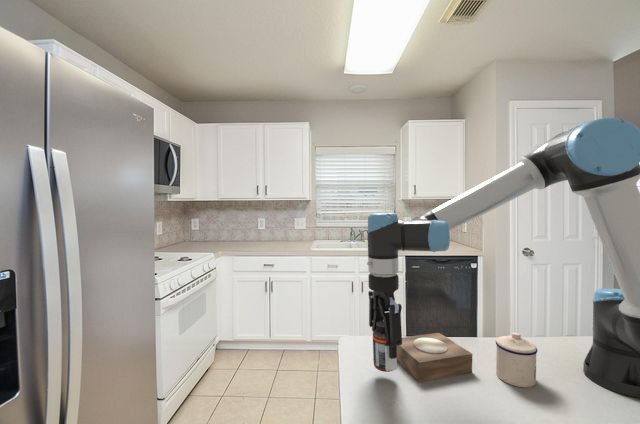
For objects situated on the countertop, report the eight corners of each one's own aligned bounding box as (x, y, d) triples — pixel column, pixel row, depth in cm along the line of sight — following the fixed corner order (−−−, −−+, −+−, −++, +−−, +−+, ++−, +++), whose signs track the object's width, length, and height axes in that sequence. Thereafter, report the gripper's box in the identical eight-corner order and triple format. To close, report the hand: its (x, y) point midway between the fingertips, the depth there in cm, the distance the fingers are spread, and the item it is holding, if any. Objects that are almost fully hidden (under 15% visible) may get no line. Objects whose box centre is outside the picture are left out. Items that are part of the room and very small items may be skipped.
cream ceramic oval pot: (545, 388, 76) (546, 341, 76) (507, 388, 76) (508, 341, 76) (515, 363, 88) (516, 322, 88) (483, 363, 88) (483, 322, 88)
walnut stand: (472, 372, 84) (472, 352, 83) (419, 382, 79) (419, 361, 79) (438, 348, 97) (438, 331, 97) (392, 355, 93) (392, 337, 93)
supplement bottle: (377, 359, 85) (376, 317, 84) (399, 363, 82) (398, 320, 82) (370, 370, 79) (369, 325, 79) (394, 375, 77) (393, 329, 76)
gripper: (355, 267, 88) (357, 348, 89) (387, 284, 70) (389, 386, 71) (379, 265, 90) (381, 344, 91) (417, 280, 72) (418, 380, 73)
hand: (384, 362), depth 81 cm, fingers closed on supplement bottle, 6 cm apart
